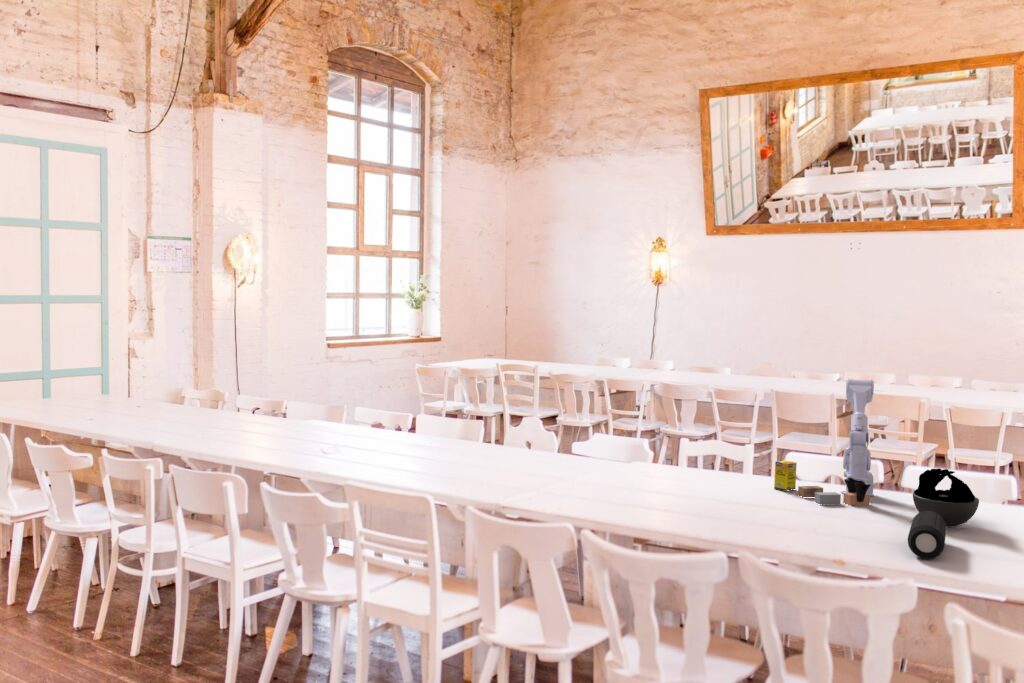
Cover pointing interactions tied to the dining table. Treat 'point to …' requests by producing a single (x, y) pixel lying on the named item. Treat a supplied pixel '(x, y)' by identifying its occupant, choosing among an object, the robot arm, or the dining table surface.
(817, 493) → the slate-grey brick
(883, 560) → the dining table surface
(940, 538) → the portable speaker
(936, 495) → the coal bowl
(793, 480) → the supplement box
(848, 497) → the terracotta brick
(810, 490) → the walnut brick
